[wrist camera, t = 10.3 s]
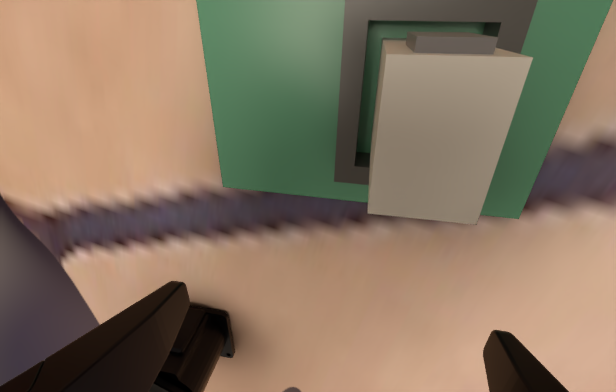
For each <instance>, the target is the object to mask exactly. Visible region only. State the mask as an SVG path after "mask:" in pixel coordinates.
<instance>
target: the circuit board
mask: <svg viewBox="0 0 616 392" xmlns="http://www.w3.org/2000/svg"><path fill="white" fill-rule="evenodd" d="M196 2H197V9H198V16H199V23H200V30H201V37H202V44H203V51H204V58H205V65H206V72H207V79H208V86H209V93H210V99H211V106H212V113H213V120H214V127H215V134H216V141H217V148H218V155H219V162H220V169H221V176H222V183H223V187H228V188H237V189H247V190H256V191H265V192H274V193H283V194H293V195H302V196H311V197H320V198H330V199H339V200H348V201H357V202H366V203H368V193H369V172H370V151H371V136H372V127H373V117H374V108H375V99H376V90H377V81H378V72H379V63H380V54H381V45H382V38H407V32H469V33H475V34H481V35H487V36H493V37H498V40H497V44H496V47H495V48H499V49H503V50H506V51H510V52H514V53H518V54H522V55H526V56H529V57H533V60H532V63H531V65H530V68H529V71H528V74H527V77H526V80H525V83H524V86H523V89H522V92H521V95H520V98H519V101H518V104H517V107H516V110H515V113H514V116H513V119H512V121H511V124H510V127H509V130H508V133H507V136H506V139H505V142H504V145H503V148H502V151H501V154H500V157H499V160H498V163H497V166H496V169H495V172H494V175H493V177H492V180H491V183H490V186H489V189H488V192H487V195H486V198H485V201H484V204H483V207H482V210H481V213H480V215H486V216H495V217H505V218H514V219H519V217H520V215H521V212H522V210H523V208H524V205H525V203H526V201H527V198H528V196H529V194H530V192H531V189H532V187H533V185H534V182H535V180H536V178H537V175H538V173H539V171H540V168H541V166H542V164H543V161H544V159H545V157H546V154H547V152H548V150H549V148H550V145H551V143H552V141H553V138H554V136H555V134H556V131H557V129H558V127H559V124H560V122H561V120H562V117H563V115H564V113H565V111H566V108H567V106H568V104H569V101H570V99H571V97H572V94H573V92H574V90H575V87H576V85H577V83H578V80H579V78H580V76H581V73H582V71H583V69H584V67H585V64H586V62H587V60H588V57H589V55H590V53H591V50H592V48H593V46H594V43H595V41H596V39H597V36H598V34H599V32H600V30H601V27H602V25H603V23H604V20H605V18H606V16H607V13H608V11H609V9H610V6H611V4H612V2H613V0H196Z"/></svg>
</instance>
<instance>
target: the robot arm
mask: <svg viewBox="0 0 616 392" xmlns="http://www.w3.org/2000/svg"><path fill="white" fill-rule="evenodd" d="M189 304H190V300H189V296H188V291H187V287H186V284H185V283H183V282H178V281H171V282H169V283H167V284H165V285H164V286H162V287H161V288H159V289H157V290H156V291H154V292H153V293H151V294H149V295H148V296H146V297H144V298H143V299H141V300H140V301H138V302H136V303H135V304H133V305H132V306H130V307H128V308H127V309H125V310H123V311H122V312H120V313H119V314H117V315H115V316H114V317H112V318H111V319H109V320H107V321H106V322H104V323H102V324H101V325H99V326H98V327H96V328H94V329H93V330H91V331H90V332H88V333H86V334H85V335H83V336H81V337H80V338H78V339H77V340H75V341H73V342H72V343H70V344H69V345H67V346H65V347H64V348H62V349H60V350H59V351H57V352H56V353H54V354H52V355H51V356H49V357H47V358H46V359H45V361H41V362H39V363H38V364H36V365H34V366H33V367H31V368H30V369H28V370H26V371H25V372H23V373H21V374H20V375H18V376H16V377H15V378H13V379H11V380H10V381H8V382H6V383H5V384H3V385H1V386H0V392H204V390H205V387H206V385H207V383H208V381H209V379H210V377H211V374H212V372H213V370H214V368H215V366H216V364H217V361H218V359H219V357H220V356H223V357H228V358H232V357H233V356H234V353H235V351H234V345H233V339H232V334H231V328H230V322H229V317H228V314H227V313H225V312H223V311H217V310H212V309H206V308H200V307H195V306H189ZM483 358H484V363H485V369H486V374H487V380H488V386H489V391H490V392H569V391H568V390H567V389H566V388H565V387H564V386H563V385H562V384H561V383H560V382H559V381H558V380H557V379H556V378H555V377H554V376H553V375H552V374H551V373H550V372H549V371H548V370H547V369H546V368H545V367H544V366H543V365H542V364H541V363H540V362H539V361H538V360H537V359H536V358H535V357H534V356H533V355H532V354H531V353H530V352H529V351H528V350H527V349H526V347H525V346H524V345H523V344H522V343H521V342H520V341H519V340H518V339H517V338H516V337H515V336H514V335H513V334H511V333H510V332H506V331H500V330H493V331H492V332H491V334H490V336H489V338H488V340H487V343H486V345H485V347H484V350H483Z"/></svg>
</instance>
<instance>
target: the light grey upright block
mask: <svg viewBox="0 0 616 392" xmlns="http://www.w3.org/2000/svg"><path fill="white" fill-rule="evenodd" d="M497 40H498V37H493V36H487V35H481V34H475V33H469V32H407V38H382V45H381V54H380V63H379V72H378V81H377V90H376V99H375V108H374V117H373V127H372V136H371V151H370V172H369V193H368V213H369V214H378V215H388V216H397V217H407V218H416V219H426V220H435V221H444V222H454V223H463V224H473V225H477V222H478V219H479V216H480V213H481V210H482V207H483V204H484V201H485V198H486V195H487V192H488V189H489V186H490V183H491V180H492V177H493V175H494V172H495V169H496V166H497V163H498V160H499V157H500V154H501V151H502V148H503V145H504V142H505V139H506V136H507V133H508V130H509V127H510V124H511V121H512V119H513V116H514V113H515V110H516V107H517V104H518V101H519V98H520V95H521V92H522V89H523V86H524V83H525V80H526V77H527V74H528V71H529V68H530V65H531V63H532V60H533V57H529V56H526V55H522V54H518V53H514V52H510V51H506V50H503V49H499V48H495V47H496V44H497Z"/></svg>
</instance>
